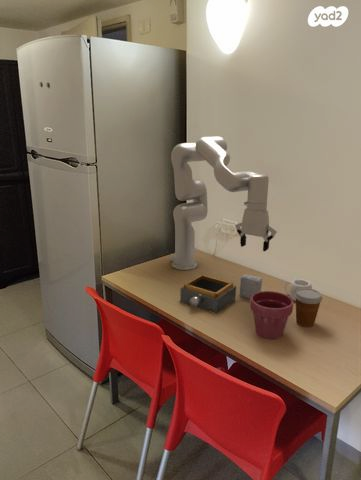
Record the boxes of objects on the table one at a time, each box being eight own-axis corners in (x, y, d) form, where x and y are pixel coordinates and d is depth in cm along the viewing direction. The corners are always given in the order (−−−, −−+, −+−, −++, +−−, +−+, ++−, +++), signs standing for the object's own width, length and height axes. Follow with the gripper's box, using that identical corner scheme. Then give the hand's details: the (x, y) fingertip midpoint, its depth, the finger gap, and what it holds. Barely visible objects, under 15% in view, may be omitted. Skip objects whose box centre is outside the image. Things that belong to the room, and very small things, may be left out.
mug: (314, 300, 161) (316, 283, 159) (302, 306, 156) (304, 288, 154) (290, 290, 170) (292, 273, 168) (277, 295, 165) (279, 278, 163)
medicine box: (261, 296, 164) (262, 277, 162) (257, 300, 161) (258, 281, 158) (243, 292, 168) (244, 273, 166) (239, 296, 165) (240, 277, 162)
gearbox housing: (175, 304, 156) (175, 287, 154) (200, 289, 171) (201, 273, 168) (211, 317, 147) (212, 299, 145) (235, 299, 161) (236, 282, 159)
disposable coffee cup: (288, 325, 142) (292, 295, 138) (294, 314, 150) (298, 285, 146) (316, 332, 138) (320, 301, 134) (320, 320, 146) (324, 290, 142)
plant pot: (260, 318, 147) (263, 286, 143) (296, 331, 139) (300, 297, 135) (240, 333, 136) (243, 300, 133) (278, 348, 128) (281, 313, 124)
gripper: (232, 205, 155) (230, 246, 160) (274, 211, 145) (270, 254, 150) (241, 201, 160) (239, 241, 166) (281, 207, 151) (278, 249, 156)
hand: (254, 248), depth 158 cm, fingers open, 9 cm apart
